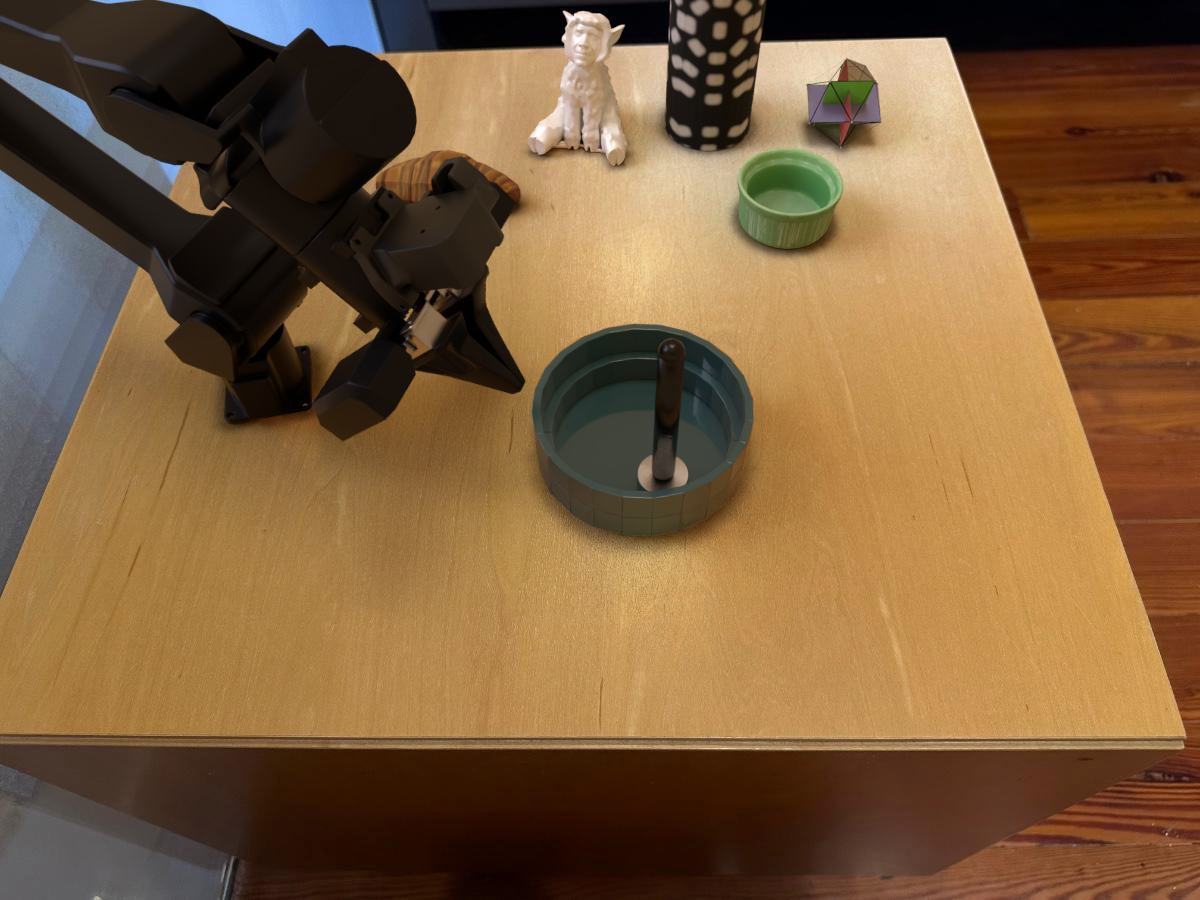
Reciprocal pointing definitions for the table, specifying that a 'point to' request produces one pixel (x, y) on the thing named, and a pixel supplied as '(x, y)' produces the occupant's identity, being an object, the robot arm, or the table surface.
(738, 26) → the spotted tube
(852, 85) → the geometric puzzle
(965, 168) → the table surface
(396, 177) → the croissant
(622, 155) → the sitting furry creature
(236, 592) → the table surface
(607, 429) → the bowl
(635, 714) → the table surface
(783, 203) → the ramekin
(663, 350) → the upright rod on disc
